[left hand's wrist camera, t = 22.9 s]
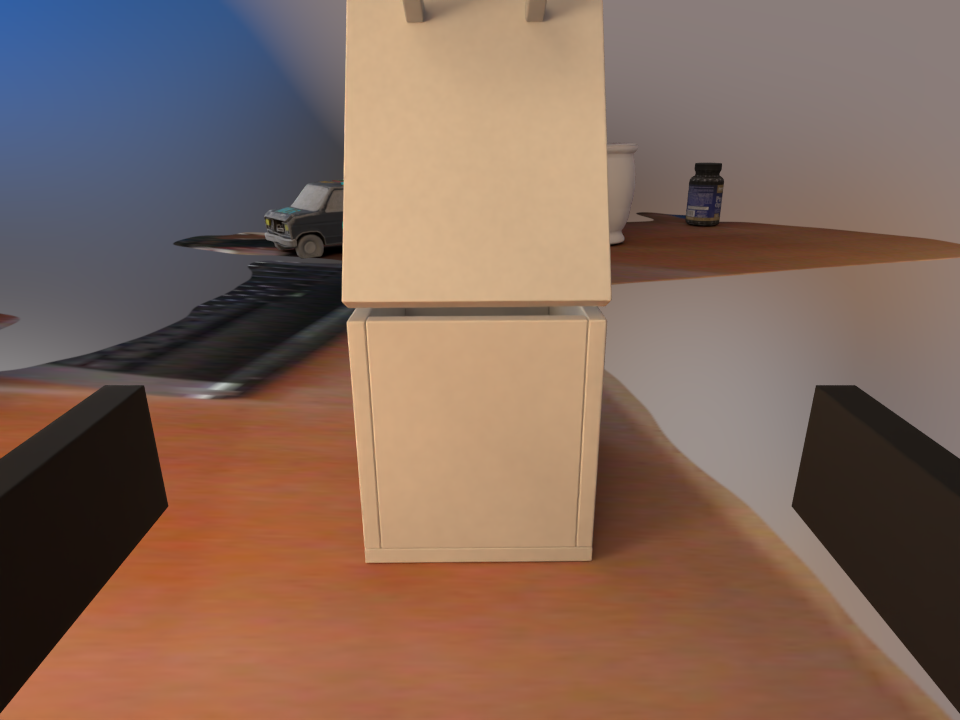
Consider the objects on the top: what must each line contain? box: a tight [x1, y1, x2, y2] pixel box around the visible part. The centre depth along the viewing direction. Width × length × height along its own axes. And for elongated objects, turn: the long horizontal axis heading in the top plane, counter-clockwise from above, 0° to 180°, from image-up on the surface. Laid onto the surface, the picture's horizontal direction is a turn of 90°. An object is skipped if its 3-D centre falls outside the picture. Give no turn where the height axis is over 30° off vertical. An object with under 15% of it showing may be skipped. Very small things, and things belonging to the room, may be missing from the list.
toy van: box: [264, 180, 344, 258], centre depth 98 cm, size 11×25×10 cm, turn 127°
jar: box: [607, 143, 638, 244], centre depth 100 cm, size 11×10×15 cm
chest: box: [347, 306, 607, 563], centre depth 32 cm, size 13×10×11 cm
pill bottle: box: [686, 163, 724, 226], centre depth 119 cm, size 6×6×11 cm
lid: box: [342, 0, 612, 308], centre depth 20 cm, size 14×10×9 cm
